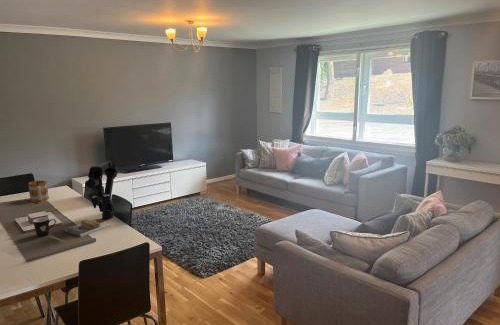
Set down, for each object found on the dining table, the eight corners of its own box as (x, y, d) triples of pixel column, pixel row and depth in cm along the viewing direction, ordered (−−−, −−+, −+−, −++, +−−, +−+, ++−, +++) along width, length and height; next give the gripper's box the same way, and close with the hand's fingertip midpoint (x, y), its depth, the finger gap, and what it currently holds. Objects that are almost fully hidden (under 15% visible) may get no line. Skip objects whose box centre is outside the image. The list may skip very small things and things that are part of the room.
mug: (29, 199, 309) (27, 181, 306) (48, 196, 316) (46, 179, 313) (31, 205, 293) (28, 186, 290) (50, 202, 300) (48, 184, 297)
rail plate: (95, 222, 250) (94, 217, 249) (111, 227, 240) (111, 221, 240) (65, 233, 233) (64, 226, 232) (82, 238, 223) (81, 232, 222)
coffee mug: (33, 238, 225) (31, 222, 223) (37, 233, 233) (35, 218, 231) (54, 236, 228) (52, 220, 226) (57, 231, 236) (55, 216, 234)
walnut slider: (87, 225, 243) (86, 219, 242) (100, 229, 235) (99, 223, 235) (81, 226, 240) (80, 221, 239) (94, 231, 232) (94, 225, 231)
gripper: (77, 186, 238) (79, 209, 240) (95, 188, 228) (96, 213, 230) (93, 183, 247) (94, 206, 249) (110, 185, 237) (112, 209, 239)
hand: (99, 209), depth 241 cm, fingers open, 9 cm apart
